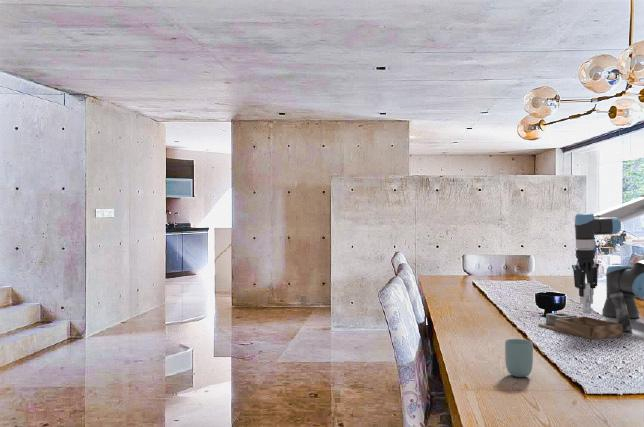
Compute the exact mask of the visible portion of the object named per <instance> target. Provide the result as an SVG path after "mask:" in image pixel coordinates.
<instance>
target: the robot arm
mask: <svg viewBox="0 0 644 427" xmlns="http://www.w3.org/2000/svg"><path fill="white" fill-rule="evenodd" d="M643 215H644V193H643V194H641V195H640V196H639V197H638V198H636V199H633V200H631V201H628V202H625V203H622V204H619V205H617V206H614V207H611V208H607V209H605V210H602V211H599V212H597V213H594V214H593V213H589V212H588V213H576V215H575V216H574V232H575V233H574V234H575V249H576V250H575V258H576V259H577V261H576V263H575V264H572V265H571V268H572V270H573V271H572V272H573V281H574V288H575V289H578V296H579V304H582V305H583V304H586V289H584V287H585V282H587V283H590V299H591V305H592V304H594V289H596V287H598V275H599V267H600V264H599V263H596V262H595V260H594V259H596V251H595V248H596V244H595V243H596V242H595V237H596V236H604V235H605V236H606V235H607V236H608V235H610V236H612V235H617V234H619V233H620V231H621V230H622V223H623V222H626V221H628V220H631V219H634V218H637V217H639V216H643ZM605 276H606V299H605V301H604V305H603V308H602V309H601V310H602V313H601V314H602V315H603V316H606V317H610V318H616V314H615V310H614V308H613V306H612V303H611V301H610V299H609V298H610V297H609V295H610V294H616V293H623V296H624V300H625V304H626V305H627V311H628V314H629V316H630V319H636V318H639V317H640V311H639V308H638V306H637V305H638V304H637V302H636V300H635V298H636V297H638V298H642V299H644V253H643V254H642V256H641V259H640V260H637V261H635V262H634V264H633V265H612V266H608V267H607V268H606V272H605Z"/></svg>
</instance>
